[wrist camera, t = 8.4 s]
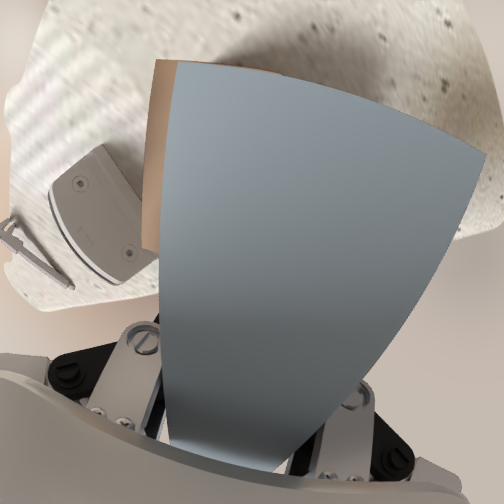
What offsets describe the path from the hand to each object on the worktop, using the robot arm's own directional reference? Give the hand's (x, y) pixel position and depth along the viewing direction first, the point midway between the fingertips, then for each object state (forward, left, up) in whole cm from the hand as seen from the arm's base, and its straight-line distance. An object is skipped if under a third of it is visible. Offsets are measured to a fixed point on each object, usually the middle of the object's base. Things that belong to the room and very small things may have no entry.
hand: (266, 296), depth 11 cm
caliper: (+24, -41, -22) cm, 52 cm away
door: (0, 0, -9) cm, 9 cm away
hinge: (+11, -21, -22) cm, 32 cm away
